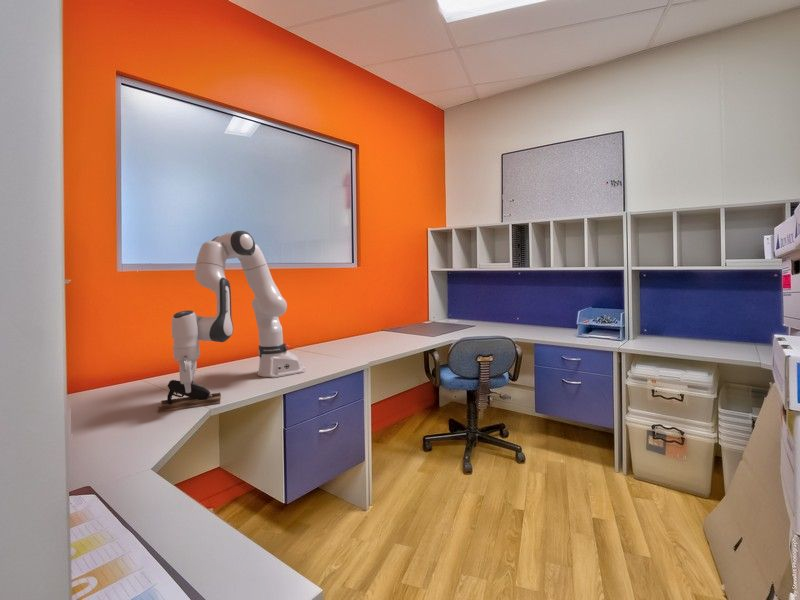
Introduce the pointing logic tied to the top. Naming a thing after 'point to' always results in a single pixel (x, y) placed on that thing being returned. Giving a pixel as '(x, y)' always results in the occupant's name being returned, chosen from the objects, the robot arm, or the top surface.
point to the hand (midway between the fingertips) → (189, 388)
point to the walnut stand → (188, 403)
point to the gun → (177, 387)
